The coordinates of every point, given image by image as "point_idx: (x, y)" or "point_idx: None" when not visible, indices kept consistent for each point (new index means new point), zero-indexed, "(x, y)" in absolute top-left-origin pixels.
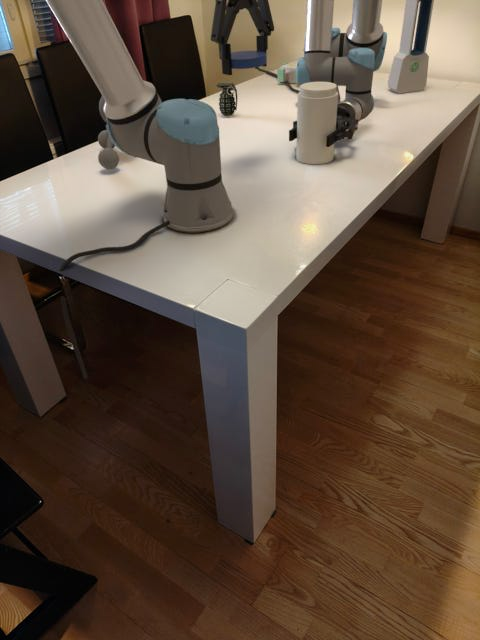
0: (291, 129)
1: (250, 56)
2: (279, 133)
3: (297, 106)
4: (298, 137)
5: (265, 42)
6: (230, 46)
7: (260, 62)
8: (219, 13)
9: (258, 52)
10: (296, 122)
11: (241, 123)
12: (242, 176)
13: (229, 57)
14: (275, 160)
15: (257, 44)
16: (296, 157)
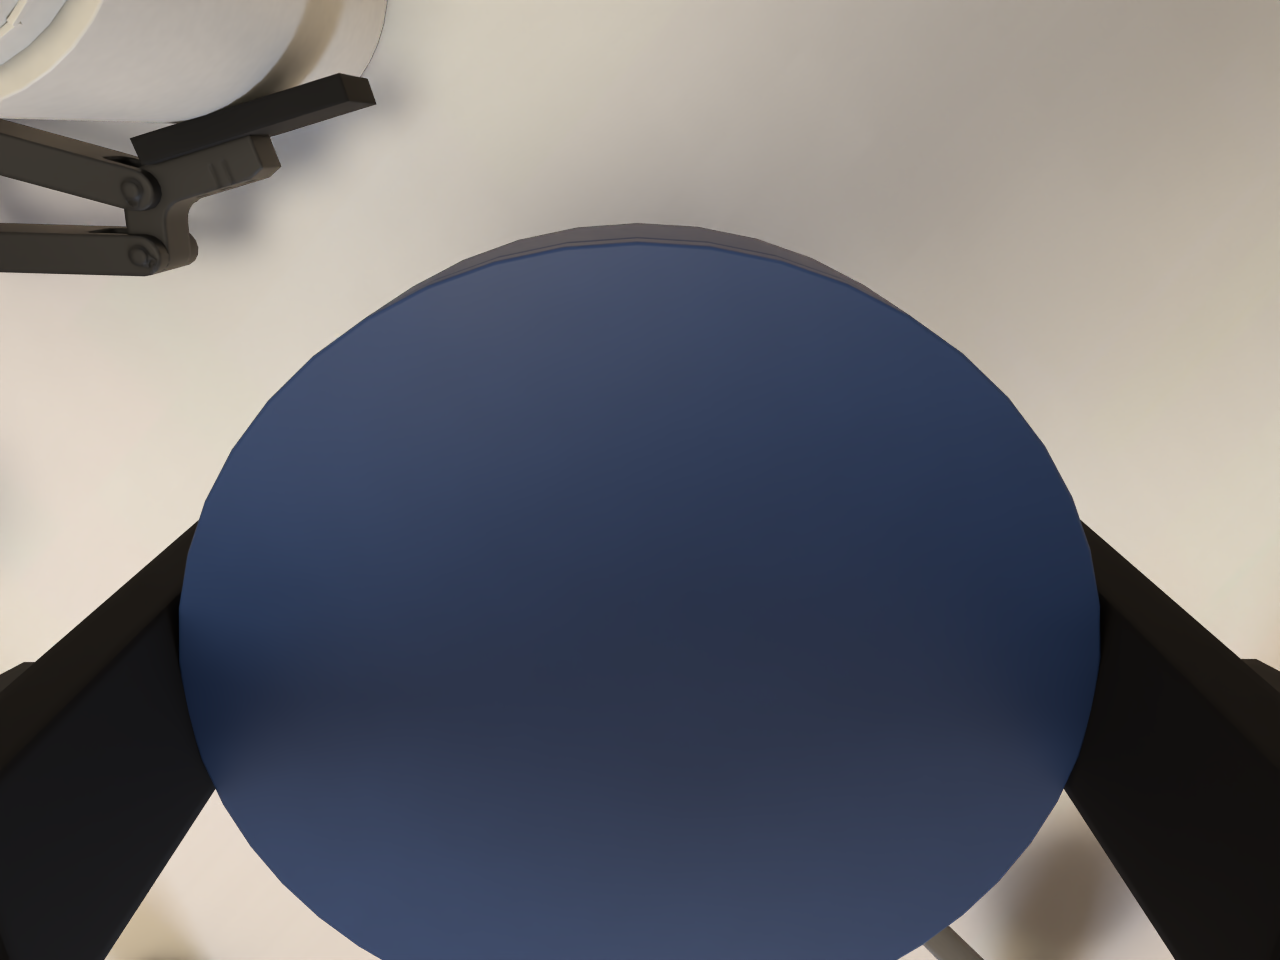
0: (310, 108)
1: (690, 488)
2: (129, 550)
3: (166, 47)
4: (322, 5)
5: (4, 712)
6: (1272, 770)
7: (610, 232)
8: None
9: (292, 654)
10: (140, 237)
11: (212, 851)
12: (868, 120)
13: (1181, 631)
14: (499, 172)
15: (140, 867)
16: (362, 68)
